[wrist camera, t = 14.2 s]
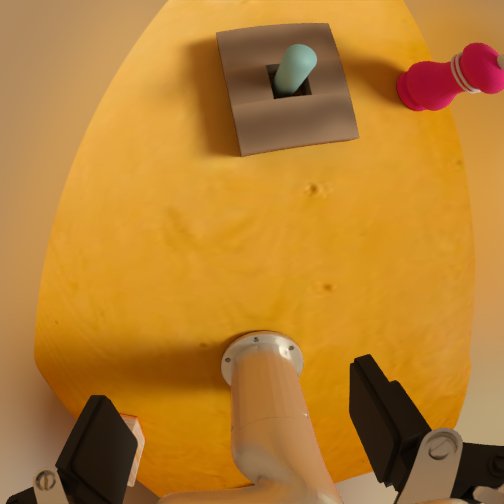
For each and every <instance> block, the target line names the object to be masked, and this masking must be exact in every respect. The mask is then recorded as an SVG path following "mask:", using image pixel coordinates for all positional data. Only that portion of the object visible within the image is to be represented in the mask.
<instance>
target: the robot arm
mask: <svg viewBox="0 0 504 504" xmlns="http://www.w3.org/2000/svg"><path fill="white" fill-rule="evenodd" d="M255 337H256V338H255ZM302 369H303V356H302V353H301V350H300V348H299V347H298V345H297V344H296V343H295V342H294V341H293V340H292V339H291V338H289V337H287V336H286V335H283V334H280V333H278V332H272V331H258V332H252V333H249V334H246V335H243V336H241V337H239V338H237V339H236V340H235V341H233V342H232V343H231V344H230V345H229V346H228V347H227V349H226V350H225V352H224V354H223V357H222V361H221V372H222V375H223V378H224V379H225V381H226V382H227V384H228V385H229V386H230V387H231V453H232V458H233V461H234V463H235V465H236V467H237V468H238V469H239V470H240V472H241V473H242V474H243V475H244V476H245V477H246V478H248V479H249V480H250V481H251V482H252V483H254V484H255V485H253V486H248V487H241V488H233V489H217V490H187V491H176V492H172V493H169V494H167V495H165V496H164V497H162V498H161V499H160V500H159V501H158V503H157V504H344V502H343V500H342V498H341V496H340V494H339V492H338V491H337V489H336V487H335V485H334V483H333V481H332V479H331V477H330V475H329V473H328V471H327V468H326V466H325V464H324V461H323V458H322V455H321V452H320V449H319V446H318V443H317V439H316V436H315V433H314V430H313V426H312V423H311V420H310V416H309V413H308V409H307V406H306V402H305V399H304V396H303V392H302V389H301V385H300V382H299V379H298V378H299V376H300V374H301V372H302ZM349 413H350V417H351V419H352V422H353V424H354V426H355V429H356V431H357V433H358V435H359V438H360V440H361V442H362V445H363V447H364V449H365V452H366V454H367V456H368V459H369V461H370V464H371V466H372V468H373V471H374V473H375V475H376V478H377V480H378V482H379V483H382V482H384V484H385V486H386V487H389V486H391V485H393V486H394V488H395V491H398V494H397V496H396V498H395V501H394V503H393V504H480V503H484V504H504V446H494V445H482V444H473V443H465V442H463V441H462V438H461V436H460V435H459V434H458V432H456V431H454V430H453V429H449V428H439V429H435V430H433V431H432V430H431V428H430V427H429V425H428V424H427V422H426V421H425V419H424V418H423V416H422V415H421V413H420V412H419V410H418V409H417V407H416V406H415V404H414V403H413V402H412V400H411V399H410V397H409V396H408V394H407V393H406V391H405V390H404V389H403V387H402V386H401V384H400V383H399V382H398V381H396V380H394V381H391V382H389V381H388V379H387V378H386V376H385V375H384V373H383V372H382V370H381V369H380V368H379V366H378V365H377V363H376V362H375V360H374V359H373V357H372V356H371V355H370V354H367V355H364V356H361V357H357V358H355V359H354V363H351V364H350V397H349ZM137 447H138V441H137V438H136V437H135V436H134V434H133V433H132V431H131V430H130V429H129V427H128V426H127V424H126V423H125V422H124V420H123V419H122V417H121V416H120V414H119V413H118V411H117V410H116V408H115V407H114V405H113V403H112V402H111V400H110V399H108V398H107V397H106V396H104V395H92V396H90V398H89V400H88V401H87V403H86V405H85V407H84V409H83V411H82V413H81V414H80V416H79V418H78V420H77V422H76V424H75V426H74V428H73V430H72V432H71V434H70V436H69V438H68V440H67V442H66V444H65V446H64V448H63V450H62V452H61V454H60V456H59V458H58V460H57V462H56V464H55V466H56V467H57V468H58V470H57V471H56V470H54V469H52V468H47V467H46V468H42V469H41V470H39V471H38V472H37V473H36V474H35V476H34V478H33V487H31V488H29V489H26V490H24V491H22V492H20V493H17V494H15V495H12V496H11V497H9V499H8V500H7V502H6V504H122V502H123V499H124V495H125V491H126V487H127V483H128V480H129V476H130V472H131V469H132V465H133V461H134V458H135V454H136V451H137Z"/></svg>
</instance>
